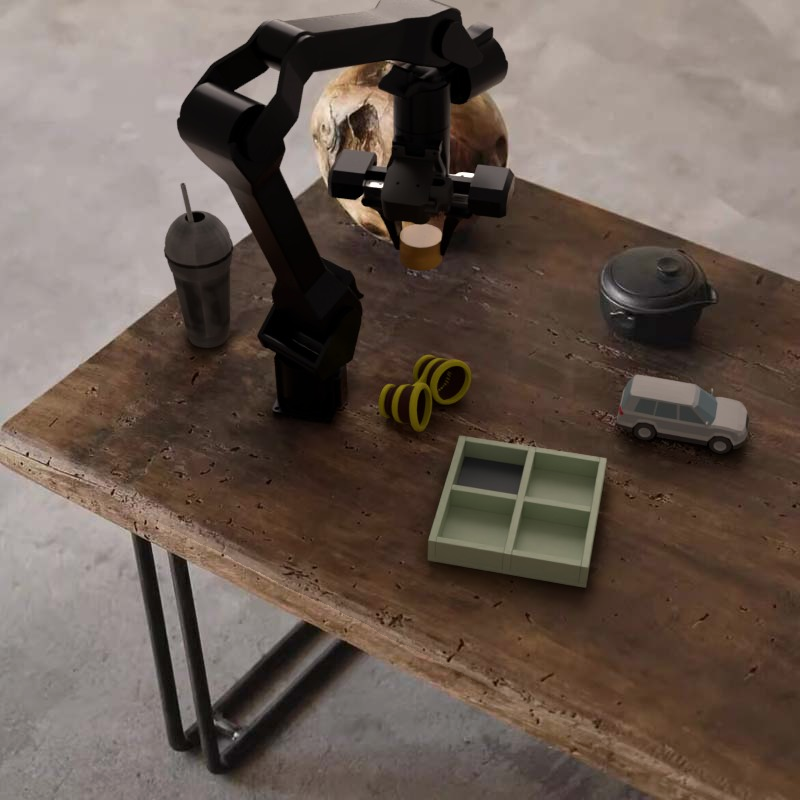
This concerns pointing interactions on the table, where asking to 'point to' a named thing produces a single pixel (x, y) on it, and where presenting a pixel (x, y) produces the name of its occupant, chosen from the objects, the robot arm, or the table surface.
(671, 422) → the toy car
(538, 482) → the grid
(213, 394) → the table surface
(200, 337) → the beverage cup
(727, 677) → the table surface
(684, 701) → the table surface
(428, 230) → the cylinder
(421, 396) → the opera glasses
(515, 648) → the table surface
